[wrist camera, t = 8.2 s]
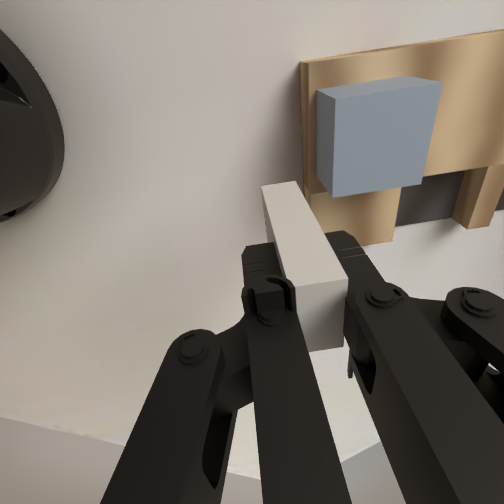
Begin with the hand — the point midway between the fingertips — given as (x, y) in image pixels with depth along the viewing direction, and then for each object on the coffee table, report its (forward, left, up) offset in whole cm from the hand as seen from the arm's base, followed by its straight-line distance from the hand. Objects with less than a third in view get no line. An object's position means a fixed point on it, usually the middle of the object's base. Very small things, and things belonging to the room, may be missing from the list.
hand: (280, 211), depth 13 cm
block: (+6, +4, -10) cm, 12 cm away
